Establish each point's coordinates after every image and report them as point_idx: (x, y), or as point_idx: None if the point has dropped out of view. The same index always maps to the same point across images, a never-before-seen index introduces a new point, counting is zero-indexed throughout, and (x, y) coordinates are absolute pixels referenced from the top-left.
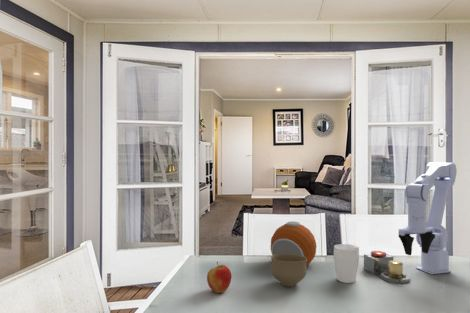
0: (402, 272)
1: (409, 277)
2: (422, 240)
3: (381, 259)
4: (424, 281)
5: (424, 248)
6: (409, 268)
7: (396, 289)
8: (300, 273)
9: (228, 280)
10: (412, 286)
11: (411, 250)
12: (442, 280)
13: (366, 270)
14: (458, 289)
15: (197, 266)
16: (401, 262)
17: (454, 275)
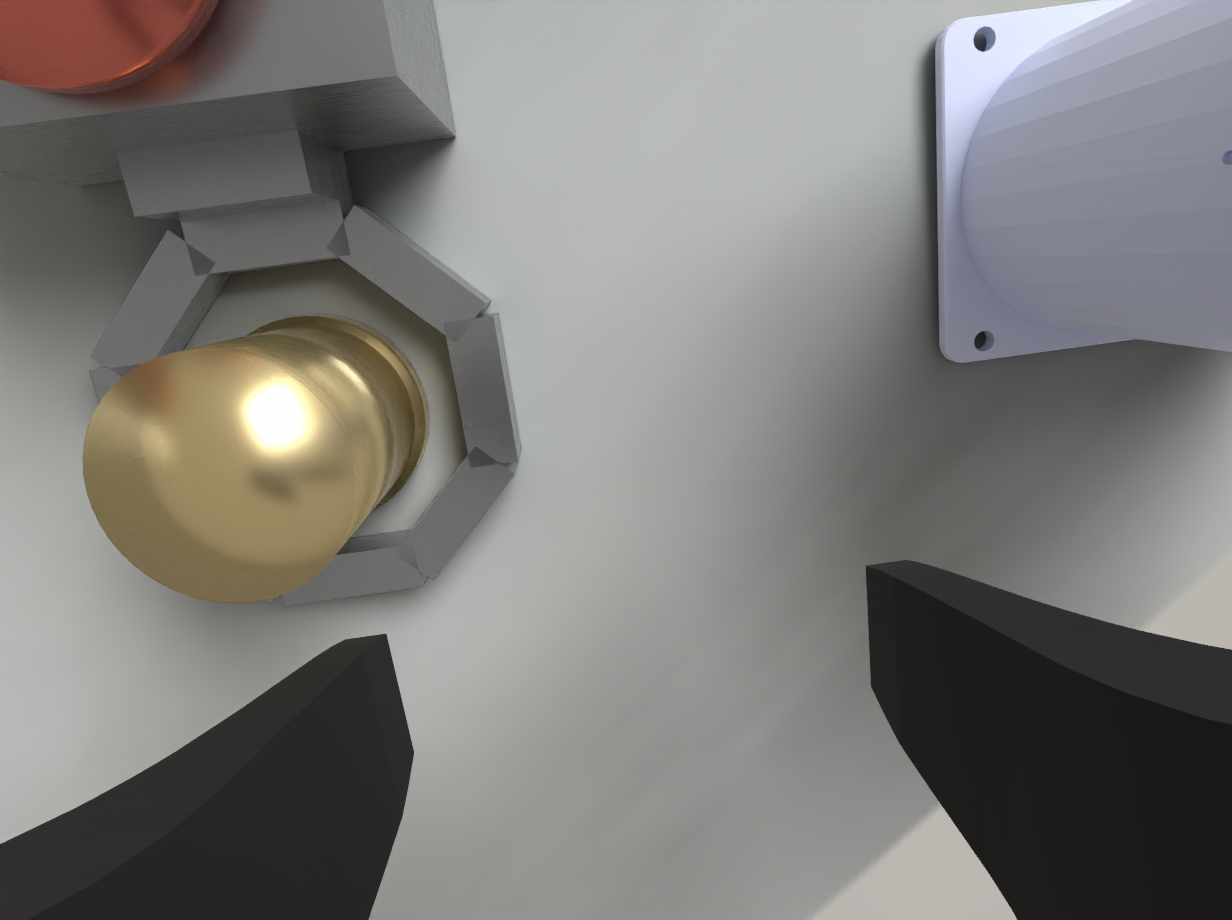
0: (375, 506)
1: (492, 502)
2: (1065, 746)
3: (76, 127)
4: (657, 562)
5: (921, 684)
6: (833, 9)
7: (155, 737)
8: None
9: None
10: (400, 683)
11: (375, 874)
12: None
13: None
14: (849, 814)
15: None
16: (349, 495)
17: (1212, 427)
